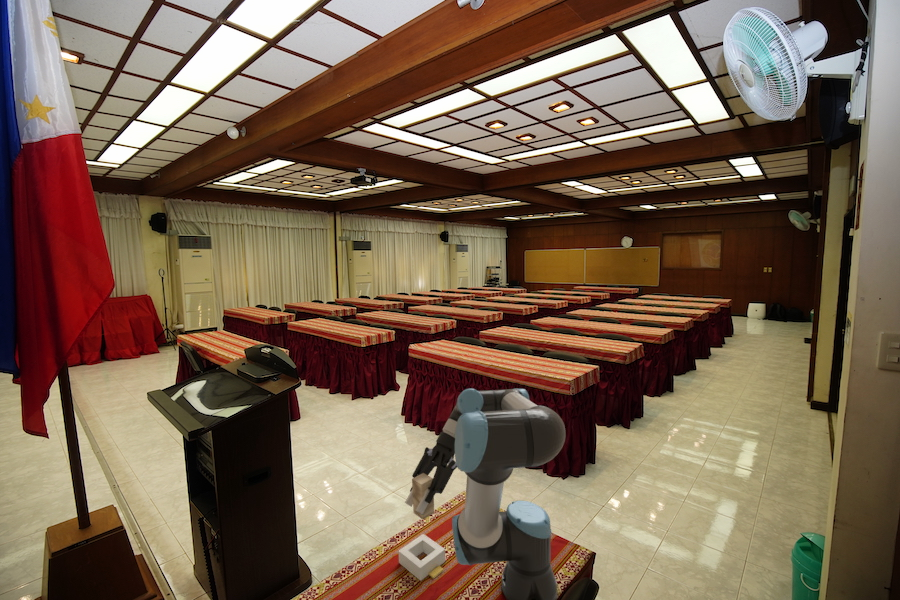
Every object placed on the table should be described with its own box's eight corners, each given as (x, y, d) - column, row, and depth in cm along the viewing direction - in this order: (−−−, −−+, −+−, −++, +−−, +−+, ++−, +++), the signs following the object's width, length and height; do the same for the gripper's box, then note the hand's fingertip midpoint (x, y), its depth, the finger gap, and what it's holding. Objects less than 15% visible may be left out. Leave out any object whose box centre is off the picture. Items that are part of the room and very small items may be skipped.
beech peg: (434, 512, 121) (433, 478, 120) (422, 519, 118) (421, 484, 117) (424, 506, 125) (423, 472, 123) (413, 512, 122) (411, 478, 120)
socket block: (450, 565, 120) (450, 552, 119) (425, 585, 113) (425, 572, 112) (423, 545, 128) (423, 533, 128) (399, 562, 121) (398, 550, 121)
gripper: (477, 450, 124) (440, 526, 114) (439, 434, 136) (403, 500, 127) (465, 440, 120) (425, 517, 110) (427, 423, 132) (388, 492, 123)
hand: (413, 508), depth 118 cm, fingers closed on beech peg, 4 cm apart
